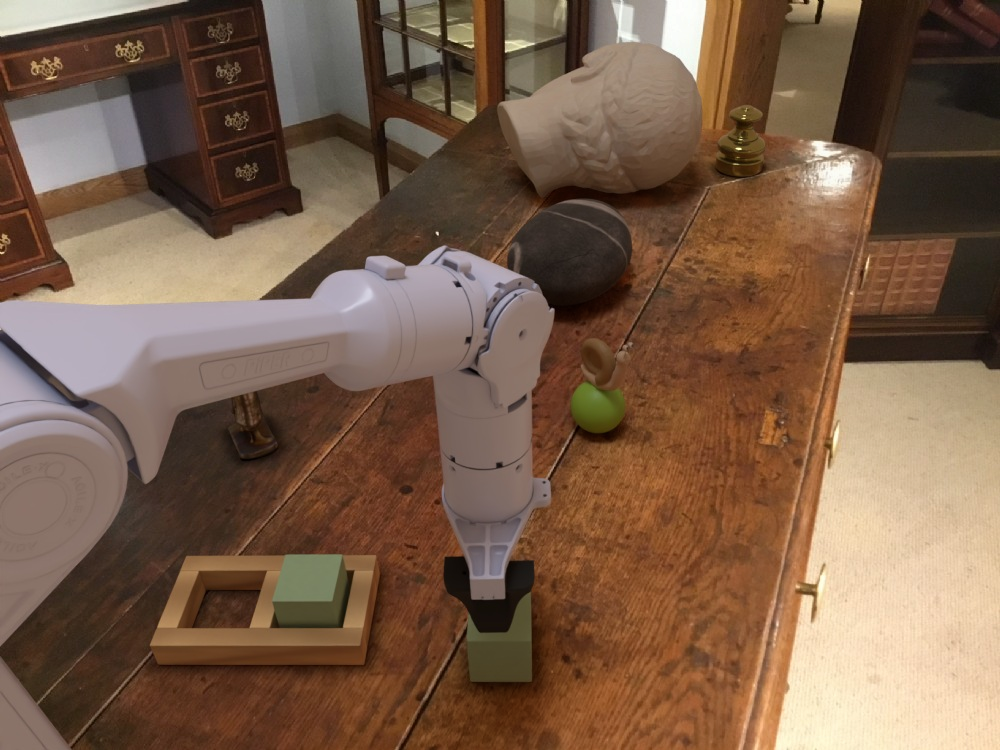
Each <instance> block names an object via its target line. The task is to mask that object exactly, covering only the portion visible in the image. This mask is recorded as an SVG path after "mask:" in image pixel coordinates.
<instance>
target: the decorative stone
mask: <svg viewBox="0 0 1000 750" xmlns="http://www.w3.org/2000/svg"><path fill="white" fill-rule="evenodd" d="M632 255H633V241H632V233H631V231H630V227H629V226H628V223H627V221H626V219H625V217H624V216H623V215H622V213H621V212H619V210H618V209H616V208H615V207H614V206H612V205H610V204H609V203H606V202H604V201H601V200H597V199H593V198H575V199H574V198H573V199H567V200H564V201H561V202H558V203H555V204H553V205H550V206H549V207H546V208H544V209H543V210H542V211H540V212H538V213H536V214H535V215H534V216H533V217H532V218H530V220H528V221H527V222H526V223H524V224H523V226H521V227H520V229H518V231H517V232H516V234H515V235H514V237H513V238H512V241H511V243H510V245H509V248H508V252H507V258H506V265H507V269H508V270H511V271H513V272H515V273H518V274H520V275H522V276H525V277H527V278H529V279H532V280H533V281H535V282H534V283H535V284H538V285H539V287H540V289H541V291H542V294H543V296H544V298H545V299H546V301H547V303H548V305H553V306H558V307H559V306H560V307H567V306H575V305H580V304H584V303H587V302H589V301H592V300H595V299H596V298H599V297H600V296H602V295H604V294H605V293H606V292H608V291H609V290H610V289H612V288H613V287H614V286H615V285H616V284H617V283H618V282H619V280H620V279H621V278H622V277H623V275H624V274H625V273H626V271H627V269H628V268H629V265H630V263H631V259H632Z"/></svg>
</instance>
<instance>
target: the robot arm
mask: <svg viewBox="0 0 1000 750" xmlns="http://www.w3.org/2000/svg"><path fill="white" fill-rule="evenodd" d="M534 282H535V281H533V280H532V279H529V278H527V277H525V276H522V275H520V274H518V273H515V272H513V271H511V270H508V268H507V267H503V266H502V265H499V264H497V263H494V262H492V261H490V260H488V259H485V258H483V257H481V256H479V255H476V254H473V253H471V252H469V251H466V250H461V249H458V248H451V247H449V246H448V245H442V246H439V247H437V248H435V249H434V250H433V251H431V252H429V253H428V254H427V255H426V256H425V257H424V258H423V259H422V260H421V261H420V262H419V263H418V264H417V265H405V264H404V263H403V262H400V261H398V260H396V259H394V258H392V257H389V256H387V255H371V256H367V257H366V260H365V265H364V268H361V269H344V270H343V269H342V270H339V271H335V272H333V273H330V274H329V275H328V276H326V277H325V278H324V279H323V280H322V281H321V282H320V284H319V285H317V287H316V289H315V290H314V292H313V293H312V295H311V297H310V298H287V299H282V298H281V299H255V300H254V299H253V300H252V299H251V300H225V301H223V300H221V301H220V300H219V301H193V302H191V301H189V302H161V303H158V302H157V303H132V304H130V303H129V304H89V303H72V302H57V301H56V302H55V301H53V302H52V301H37V300H36V301H34V300H20V299H19V300H18V299H16V300H15V299H14V300H7V301H2V302H0V647H2V646H3V645H4V643H5V642H6V641H7V640H9V638H10V637H11V636H12V635H13V634H14V633H15V631H17V630H18V628H19V627H21V626H22V624H23V623H24V622H25V621H26V620H27V619H28V618H29V617H30V616H31V615H32V614H33V612H34V611H36V609H37V608H38V607H39V606H40V605H41V604H42V603H43V602H44V601H45V600H46V599H47V598H48V596H50V594H51V593H52V592H53V591H55V589H56V588H57V587H58V586H59V585H60V584H61V582H62V581H63V580H64V579H66V577H68V575H69V574H70V573H71V572H72V571H73V570H74V569H75V568H76V566H77V565H78V564H79V563H81V561H82V560H84V559H85V558H86V556H87V555H88V554H89V553H90V552H91V550H92V549H93V548H94V547H95V546H96V545H97V543H98V542H99V541H100V540H101V538H102V537H103V536H104V535H105V534H106V532H107V531H108V530H109V528H111V526H112V524H113V522H114V520H115V519H116V517H117V515H119V511H120V509H121V506H122V505H123V502H124V499H125V495H126V492H127V488H128V480H129V472H130V473H132V474H133V475H134V476H135V477H136V478H137V479H138V480H140V481H141V482H142V483H143V484H144V485H147V484H148V483H150V482H151V481H153V480H154V478H155V477H156V476H157V475H158V472H159V469H160V466H161V464H162V460H163V458H164V454H165V451H166V448H167V445H168V443H169V439H170V437H171V433H172V431H173V428H174V425H175V422H176V419H177V416H178V415H179V414H180V413H181V412H183V411H185V410H189V409H192V408H197V407H200V406H204V405H207V404H212V403H215V402H219V401H222V400H226V399H231V397H235V396H238V395H242V394H246V393H250V392H254V391H257V392H258V391H261V390H264V389H265V390H266V389H268V388H269V389H270V388H272V387H276V386H280V385H284V384H288V383H291V382H295V381H299V380H303V379H306V378H311V377H315V376H319V375H322V374H324V375H325V376H326V377H327V378H328V379H329V380H330V381H331V382H332V383H334V385H336V386H337V387H340V388H341V389H344V390H346V391H350V392H361V391H362V392H363V391H367V390H371V389H376V388H381V387H385V386H390V385H396V384H400V383H406V382H409V381H414V380H419V379H424V378H425V379H426V378H428V377H432V379H433V390H434V391H433V392H434V398H435V399H434V400H435V409H436V411H435V412H436V418H437V430H438V431H437V432H438V440H439V451H440V452H439V453H440V460H441V470H442V480H443V481H442V482H443V484H442V488H441V502H442V507H443V510H444V513H445V515H446V517H447V520H448V522H449V525H450V527H451V529H452V532H453V534H454V536H455V538H456V540H457V543H458V545H459V547H460V550H461V553H462V554H463V555H457V556H455V555H453V556H444V561H443V572H442V573H443V574H442V576H443V577H442V578H443V584H444V588H445V590H446V592H447V594H448V595H450V596H451V597H454V598H456V599H457V600H458V601H460V602H461V603H462V604H463V605H464V607H465V609H466V610H467V613H468V612H469V614H470V617H471V619H472V621H473V623H474V625H475V627H476V628H477V630H478V632H480V633H506V632H508V631H509V629H510V626H511V624H512V621H513V617H514V614H515V610H516V607H517V605H518V603H519V602H520V600H521V599H522V598H523V597H524V596H525V595H526V594H528V593H529V592H531V593H532V590H533V587H534V584H535V580H536V579H535V577H536V576H535V560H534V559H531V560H530V559H529V560H528V559H527V560H523V559H521V560H520V559H519V560H511V558H512V556H513V554H514V552H515V549H516V548H517V545H518V543H519V541H520V538H521V536H522V534H523V532H524V530H525V527H526V526H527V524H528V521H529V519H530V517H531V515H532V513H533V511H534V510H536V509H538V508H546V507H549V506H550V505H551V502H552V491H551V490H552V489H551V482H550V480H549V479H548V478H545V477H535V476H534V475H533V471H534V470H533V468H534V467H533V465H534V464H533V395H532V391H533V389H535V388H536V387H537V384H538V379H539V378H540V377H541V359H542V356H543V352H544V351H545V348H546V345H547V343H548V341H549V338H550V335H551V333H552V331H553V326H554V320H555V308H553V307H551V308H550V306H549V304H548V303H547V301H546V299H545V298H544V296H543V294H542V291H541V289H540V287H539V285H538V284H535V283H534ZM0 750H73V749H72V748H71V747H70V745H69V744H68V743H67V741H66V740H65V739H64V738H63V736H62V735H61V734H60V732H59V731H58V729H57V728H56V727H55V726H54V724H53V723H52V722H51V720H50V719H49V718H48V716H47V715H46V713H44V710H42V709H41V707H40V706H39V705H38V703H37V702H36V701H35V700H34V698H33V697H32V696H31V694H30V693H29V692H28V690H27V689H26V688H25V686H24V685H23V684H22V683H21V681H20V680H19V679H18V677H17V676H16V674H15V673H14V672H13V670H12V669H11V668H10V667H9V666H8V664H7V663H6V661H5V660H4V659H3V657H2V656H1V655H0Z"/></svg>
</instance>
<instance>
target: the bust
mask: <svg viewBox="0 0 1000 750" xmlns="http://www.w3.org/2000/svg"><path fill="white" fill-rule="evenodd" d="M581 62H582V64H583V66H581V67H579V68H576V69H574V70H572V71H570V72H569V71H568V73H565V74H563V75H560V76H559V77H557V78H555V79H553V80H551V81H549V82H548V83H546V84H545V85H543V86H542V87H540V88H539V89H537V90H536V91H534V92H533V93H532V94H531V95H530V96H528V97H525V98H519V99H511V100H504V101H500V102H499V103H498V105H497V107H496V112H497V116H498V121H499V125H500V129H501V132H502V135H503V137H504V139H505V142H506V143H507V146H508V148H509V150H510V153H511V155H512V157H513V159H514V160H515V162H516V164H517V166H518V167H519V169H520V170H522V172H523V173H524V175H526V177H527V178H528V179H529V180H530V181H531V183H532V184H533V186H534V188H535V191H536V193H537V195H538V196H539V197H540V198H541V199H544V198H545V197H546V196H547V195H548V194H550V193H551V192H552V191H554V190H558V189H560V188H565V187H571V186H573V187H577V188H582V189H591V190H594V191H599V192H603V193H606V194H619V195H622V194H629V193H636V192H639V191H640V190H651V189H654V188H658V187H659V186H661V185H663V184H665V183H667V182H669V181H671V180H673V179H674V178H676V177H677V176H678V175H680V173H681V172H682V171H683V170H684V168H685V167H686V166H687V165H688V164H689V163H690V162H691V161H692V159H693V158H694V155H695V153H696V149H697V147H698V145H699V143H700V141H701V137H702V130H703V117H704V116H703V113H704V112H703V110H704V109H703V102H702V96H701V94H700V91H699V89H698V84H697V81H696V78H695V77H694V75H693V74H692V72H691V71H690V70H689V69H688V68H687V66H686V65H685V63H684V62H683V61H682V60H681V59H680V57H678V56H676V55H675V54H673V53H671V52H669V51H667V50H665V49H663V48H662V47H660V46H659V45H655V44H652V43H642V42H637V41H624V42H622V41H621V42H617V43H616V42H615V43H611V44H607V45H603V46H601V47H599V48H597V49H595V50H593V51H591V52H588V53H586V54H585V55H584V56H582V59H581Z"/></svg>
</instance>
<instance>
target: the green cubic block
mask: <svg viewBox="0 0 1000 750" xmlns="http://www.w3.org/2000/svg"><path fill="white" fill-rule="evenodd" d="M343 555H344V554H342V553H341V554H340V553H339V554H338V553H337V554H333V553H332V554H331V553H329V554H326V553H325V554H320V553H319V554H318V553H317V554H316V553H315V554H314V553H313V554H285V558H284V561H283V565H282V568H281V572H280V575H279V578H278V582H277V585H276V589H275V592H274V596H273V599H272V604H273V607H274V610H275V613H276V617H277V620H278V623H279V627H280V628H343V624H344V620H345V615H346V610H347V605H348V600H349V595H350V587H349V582H348V577H347V573H346V568H345V563H344V559H343Z"/></svg>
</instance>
